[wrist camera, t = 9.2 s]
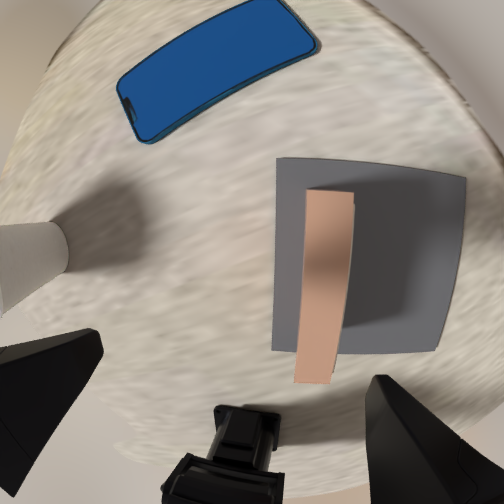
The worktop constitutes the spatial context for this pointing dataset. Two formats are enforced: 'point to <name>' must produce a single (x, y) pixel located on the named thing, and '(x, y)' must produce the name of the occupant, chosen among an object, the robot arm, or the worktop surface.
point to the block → (323, 282)
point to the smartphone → (210, 65)
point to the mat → (374, 252)
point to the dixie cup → (29, 259)
